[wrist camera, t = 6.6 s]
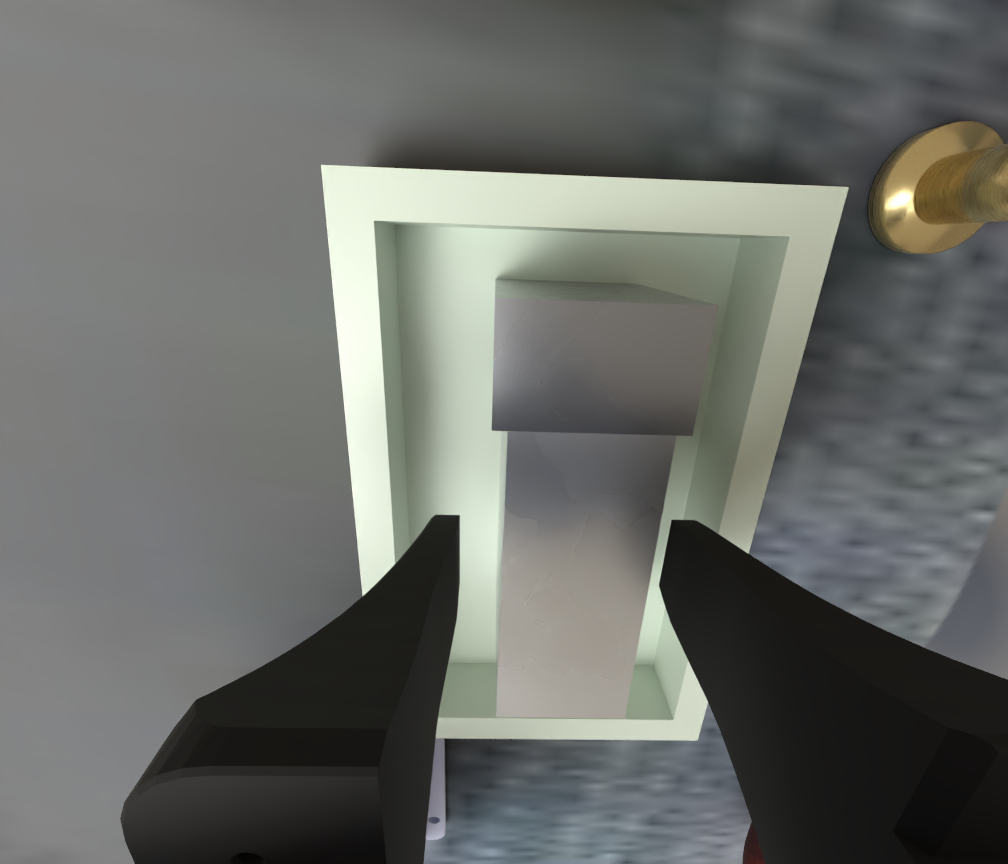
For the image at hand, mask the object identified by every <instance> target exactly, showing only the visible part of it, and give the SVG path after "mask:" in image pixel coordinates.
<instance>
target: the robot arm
mask: <svg viewBox="0 0 1008 864" xmlns="http://www.w3.org/2000/svg"><path fill="white" fill-rule="evenodd" d="M459 586H460V515H434V516H433V517H432V518H431V519H430V521H429V522H428V524H427V525H426V526H425V528H424V529H423V531H422V532H421V533H420V535H419V536H418V537H417V538H416V540H415V541H414V542H413V544H412V545H411V546H410V547H409V548H408V550H407V551H406V552H405V553H404V554H403V555H402V557H401V558H400V559H399V560H398V561H397V562H396V564H395V565H394V566H393V567H392V568H391V569H390V570H389V571H388V572H387V573H386V574H385V575H384V576H383V577H382V578H381V579H380V580H379V581H378V582H377V583H376V584H375V585H374V586H373V587H372V588H371V589H370V590H369V591H368V592H367V593H366V594H365V595H364V596H363V597H361V598H360V599H359V600H358V601H357V602H356V603H354V604H353V605H352V606H351V607H350V608H349V609H347V610H346V611H345V612H344V613H343V614H341V615H340V616H339V617H337V618H336V619H335V620H333V621H332V622H330V623H329V624H328V625H326V626H325V627H323V628H322V629H321V630H319V631H318V632H317V633H315V634H314V635H312V636H311V637H309V638H308V639H306V640H305V641H303V642H302V643H300V644H299V645H297V646H295V647H294V648H292V649H291V650H289V651H288V652H286V653H284V654H283V655H281V656H279V657H277V658H276V659H274V660H272V661H271V662H269V663H267V664H265V665H264V666H262V667H260V668H258V669H256V670H255V671H253V672H251V673H249V674H247V675H245V676H243V677H241V678H239V679H237V680H235V681H233V682H231V683H229V684H227V685H225V686H223V687H221V688H219V689H217V690H216V691H214V692H212V693H210V694H207V695H205V696H203V697H201V698H199V699H197V700H196V701H195V702H194V703H193V705H192V706H191V707H190V709H189V710H188V711H187V712H186V714H185V715H184V716H183V717H182V719H181V720H180V721H179V722H178V724H177V725H176V726H175V728H174V729H173V730H172V732H171V733H170V735H169V736H168V738H167V739H166V741H165V742H164V743H163V745H162V746H161V748H160V749H159V751H158V752H157V754H156V755H155V757H154V758H153V760H152V761H151V763H150V764H149V766H148V767H147V769H146V770H145V772H144V774H143V775H142V777H141V778H140V780H139V781H138V783H137V784H136V786H135V787H134V789H133V790H132V792H131V793H130V795H129V796H128V798H127V799H126V801H125V802H124V806H123V810H122V814H121V818H120V819H121V824H122V828H123V833H124V837H125V841H126V844H127V846H128V849H129V851H130V853H131V855H132V858H133V860H134V862H135V864H423V862H424V851H425V840H437V839H440V838H442V837H443V836H444V835H445V832H446V791H445V738H436V729H437V722H438V715H439V709H440V703H441V698H442V693H443V688H444V683H445V677H446V672H447V667H448V662H449V657H450V652H451V647H452V641H453V636H454V631H455V626H456V620H457V611H458V598H459ZM659 588H660V591H661V594H662V598H663V601H664V604H665V608H666V611H667V614H668V617H669V620H670V622H671V625H672V627H673V629H674V631H675V633H676V636H677V638H678V640H679V642H680V644H681V646H682V649H683V651H684V653H685V655H686V657H687V659H688V661H689V663H690V665H691V667H692V670H693V672H694V674H695V676H696V678H697V680H698V682H699V684H700V686H701V688H702V690H703V693H704V695H705V697H706V699H707V701H708V703H709V705H710V707H711V710H712V712H713V714H714V717H715V719H716V721H717V724H718V726H719V728H720V731H721V734H722V736H723V739H724V742H725V745H726V747H727V750H728V753H729V756H730V758H731V761H732V764H733V767H734V769H735V772H736V775H737V778H738V781H739V784H740V787H741V790H742V793H743V796H744V799H745V802H746V805H747V808H748V810H749V813H750V816H751V819H752V822H753V825H754V828H755V832H756V835H757V838H758V841H759V845H760V848H761V851H762V854H763V857H764V861H765V864H1008V680H1007V679H1004V678H1001V677H998V676H996V675H993V674H990V673H988V672H985V671H982V670H980V669H977V668H974V667H971V666H969V665H966V664H964V663H961V662H958V661H956V660H953V659H950V658H948V657H946V656H943V655H941V654H938V653H935V652H933V651H931V650H928V649H926V648H923V647H921V646H919V645H917V644H914V643H912V642H910V641H907V640H905V639H903V638H901V637H898V636H896V635H894V634H892V633H889V632H887V631H885V630H883V629H881V628H878V627H876V626H874V625H872V624H870V623H868V622H866V621H864V620H862V619H860V618H858V617H856V616H854V615H852V614H850V613H848V612H846V611H844V610H842V609H840V608H838V607H836V606H834V605H832V604H831V603H829V602H827V601H825V600H823V599H821V598H820V597H818V596H816V595H814V594H812V593H811V592H809V591H807V590H806V589H804V588H802V587H801V586H799V585H797V584H795V583H794V582H792V581H790V580H789V579H787V578H785V577H784V576H782V575H781V574H779V573H777V572H776V571H774V570H773V569H771V568H769V567H768V566H766V565H765V564H763V563H762V562H760V561H759V560H757V559H756V558H754V557H752V556H751V555H749V554H748V553H746V552H745V551H743V550H742V549H740V548H739V547H737V546H736V545H734V544H733V543H731V542H730V541H728V540H727V539H725V538H724V537H722V536H721V535H719V534H718V533H716V532H715V531H713V530H712V529H710V528H708V527H707V526H705V525H703V524H702V523H700V522H698V521H696V520H671V525H670V530H669V536H668V541H667V546H666V551H665V556H664V561H663V566H662V572H661V577H660V582H659Z"/></svg>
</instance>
